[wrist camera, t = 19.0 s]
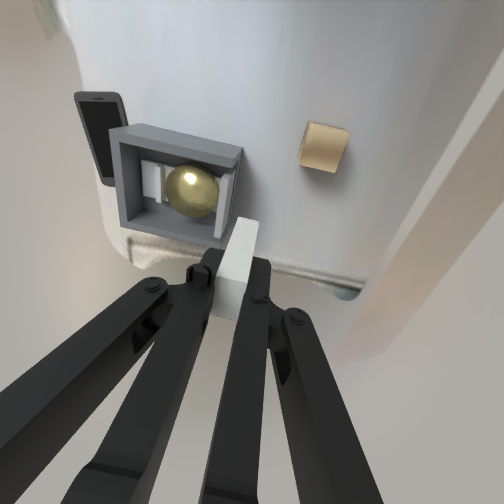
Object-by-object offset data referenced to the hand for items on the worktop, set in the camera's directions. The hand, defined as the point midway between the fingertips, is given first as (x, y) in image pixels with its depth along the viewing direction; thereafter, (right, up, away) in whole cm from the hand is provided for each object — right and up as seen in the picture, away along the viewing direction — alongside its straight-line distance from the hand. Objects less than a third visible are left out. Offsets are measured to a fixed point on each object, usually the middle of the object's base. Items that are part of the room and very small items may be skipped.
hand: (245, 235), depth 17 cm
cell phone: (-22, +17, +22) cm, 36 cm away
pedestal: (+10, +15, +18) cm, 26 cm away
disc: (-9, +8, +20) cm, 23 cm away
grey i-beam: (-10, +9, +21) cm, 25 cm away
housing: (-10, +11, +24) cm, 28 cm away
